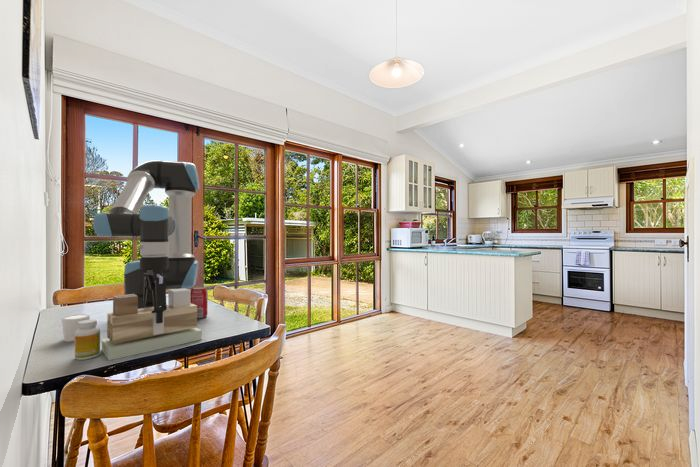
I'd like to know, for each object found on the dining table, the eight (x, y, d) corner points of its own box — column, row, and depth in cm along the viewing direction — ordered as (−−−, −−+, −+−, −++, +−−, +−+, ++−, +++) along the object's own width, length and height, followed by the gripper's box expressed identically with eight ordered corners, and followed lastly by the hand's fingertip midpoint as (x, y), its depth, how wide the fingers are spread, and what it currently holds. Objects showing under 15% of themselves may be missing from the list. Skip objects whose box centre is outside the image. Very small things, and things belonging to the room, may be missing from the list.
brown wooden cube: (113, 313, 93) (113, 295, 93) (133, 310, 96) (133, 293, 96) (116, 316, 89) (116, 298, 89) (137, 313, 93) (137, 295, 93)
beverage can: (201, 314, 134) (201, 286, 134) (210, 316, 131) (210, 287, 131) (187, 318, 129) (187, 288, 129) (196, 320, 126) (196, 289, 126)
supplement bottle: (101, 356, 88) (101, 321, 88) (75, 362, 84) (75, 325, 84) (98, 351, 92) (98, 317, 92) (73, 356, 88) (73, 321, 88)
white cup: (93, 337, 105) (93, 315, 105) (66, 343, 99) (66, 320, 99) (84, 333, 108) (84, 313, 108) (57, 339, 102) (58, 317, 102)
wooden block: (107, 337, 93) (107, 313, 93) (187, 322, 109) (187, 301, 109) (112, 343, 87) (112, 318, 87) (196, 327, 103) (197, 305, 103)
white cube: (168, 305, 103) (168, 289, 103) (185, 303, 107) (185, 288, 107) (173, 308, 100) (173, 291, 100) (190, 305, 103) (190, 289, 103)
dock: (101, 350, 93) (101, 339, 93) (189, 332, 110) (189, 323, 110) (108, 360, 86) (108, 349, 86) (201, 339, 103) (201, 330, 103)
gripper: (131, 255, 103) (131, 326, 103) (149, 258, 88) (149, 341, 88) (158, 254, 108) (157, 321, 108) (179, 257, 93) (179, 335, 93)
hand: (154, 330), depth 98 cm, fingers closed on wooden block, 8 cm apart
